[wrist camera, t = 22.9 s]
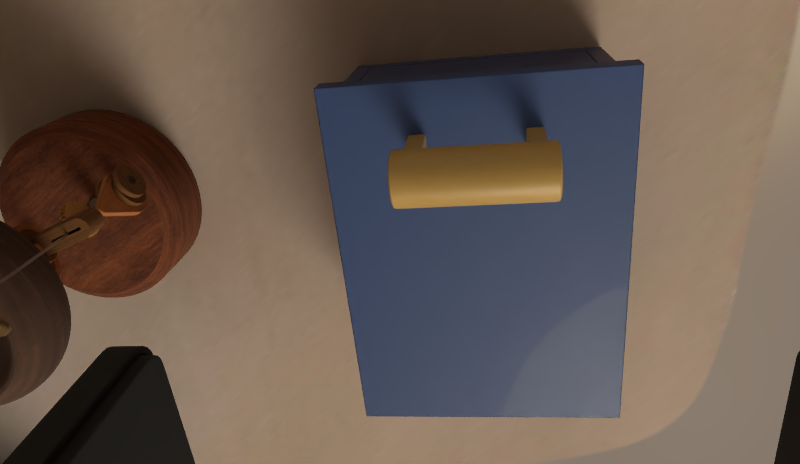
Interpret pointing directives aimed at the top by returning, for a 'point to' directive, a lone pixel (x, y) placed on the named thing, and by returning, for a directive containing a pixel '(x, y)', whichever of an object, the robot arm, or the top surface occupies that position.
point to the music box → (83, 229)
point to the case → (481, 63)
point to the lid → (487, 236)
